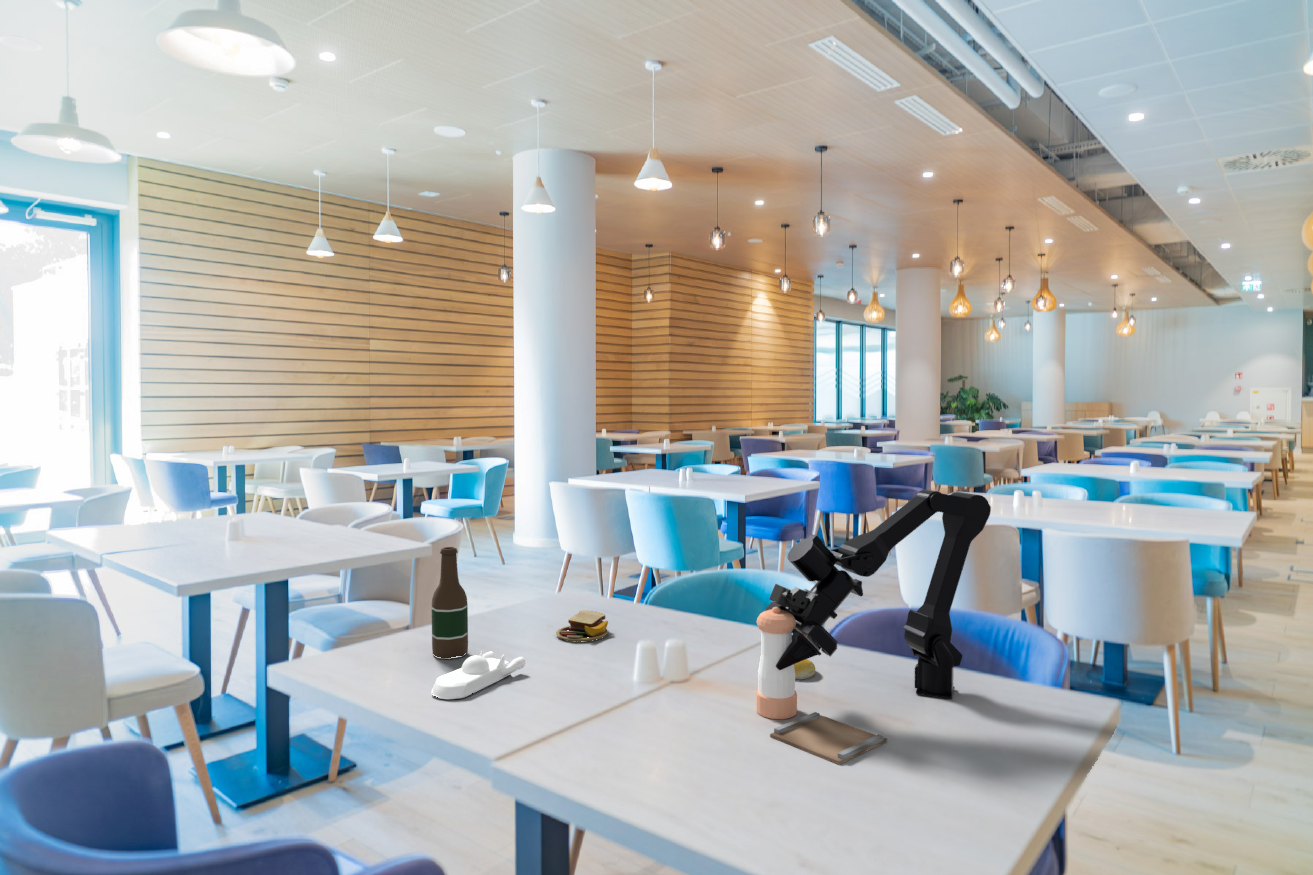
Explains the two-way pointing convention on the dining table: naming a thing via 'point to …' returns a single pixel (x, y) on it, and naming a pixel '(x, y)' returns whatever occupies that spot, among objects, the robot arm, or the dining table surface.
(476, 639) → the dining table surface
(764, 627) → the pepper shaker
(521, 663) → the white elongated plastic piece
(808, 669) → the bread roll
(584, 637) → the toy sandwich meal
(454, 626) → the beer bottle
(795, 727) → the serving tray
